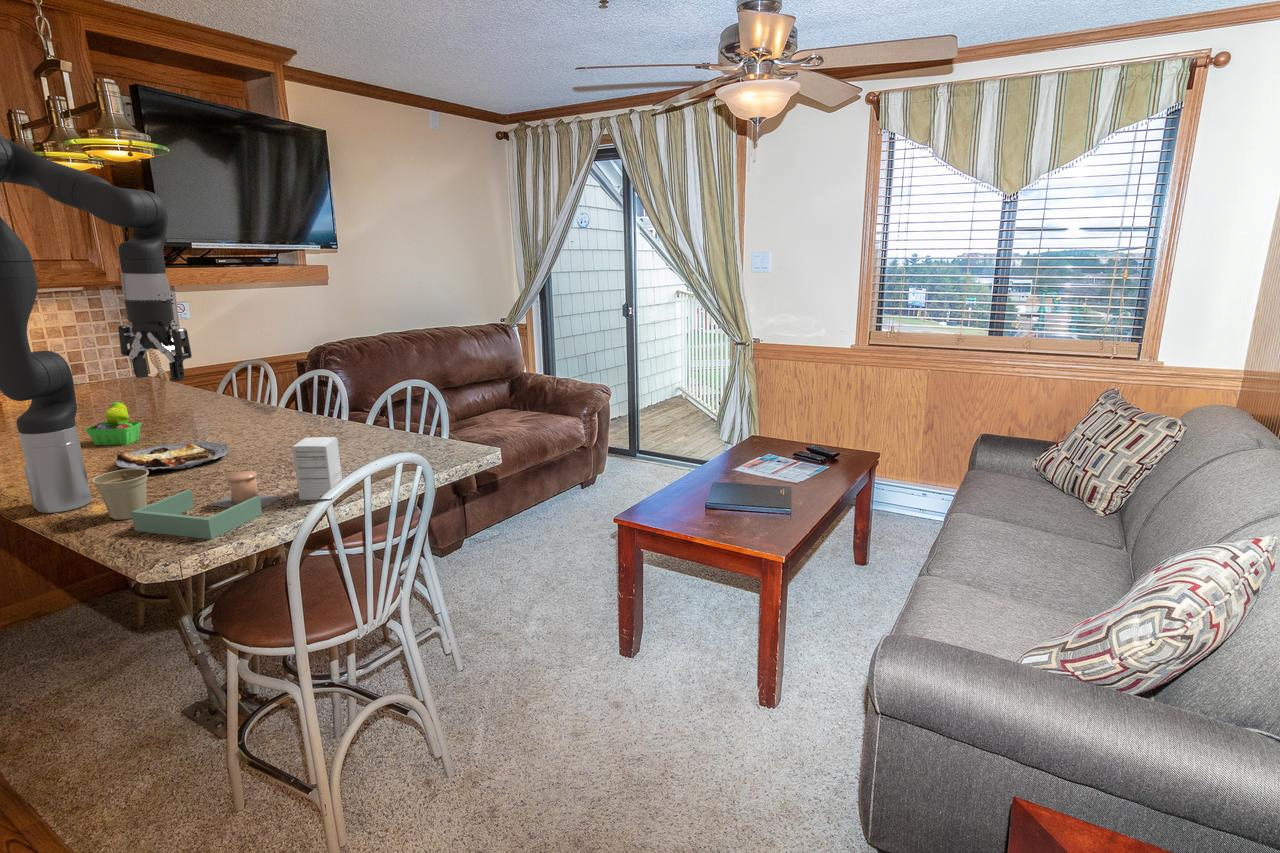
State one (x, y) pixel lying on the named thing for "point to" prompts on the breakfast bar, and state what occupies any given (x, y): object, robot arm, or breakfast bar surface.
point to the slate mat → (228, 503)
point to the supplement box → (316, 466)
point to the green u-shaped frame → (192, 517)
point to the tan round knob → (242, 486)
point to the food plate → (171, 455)
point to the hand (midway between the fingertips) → (160, 378)
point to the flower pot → (123, 491)
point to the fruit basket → (115, 427)
